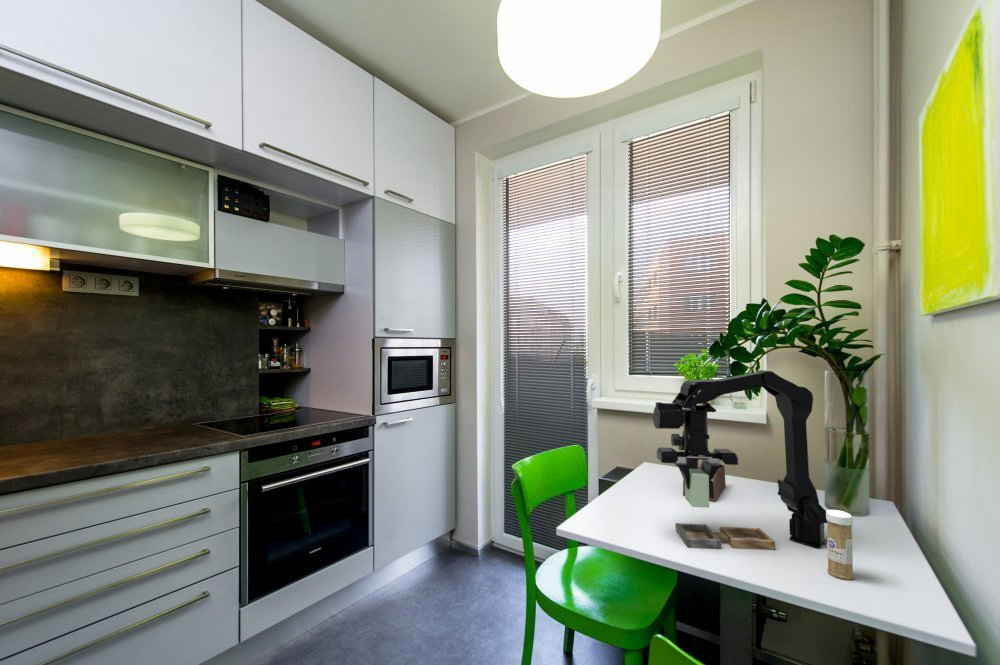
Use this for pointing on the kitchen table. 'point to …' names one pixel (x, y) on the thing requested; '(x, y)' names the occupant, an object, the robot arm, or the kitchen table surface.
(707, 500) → the sage peg
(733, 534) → the joined double square frame
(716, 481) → the letter holder
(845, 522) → the sprinkles bottle
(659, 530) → the kitchen table surface
